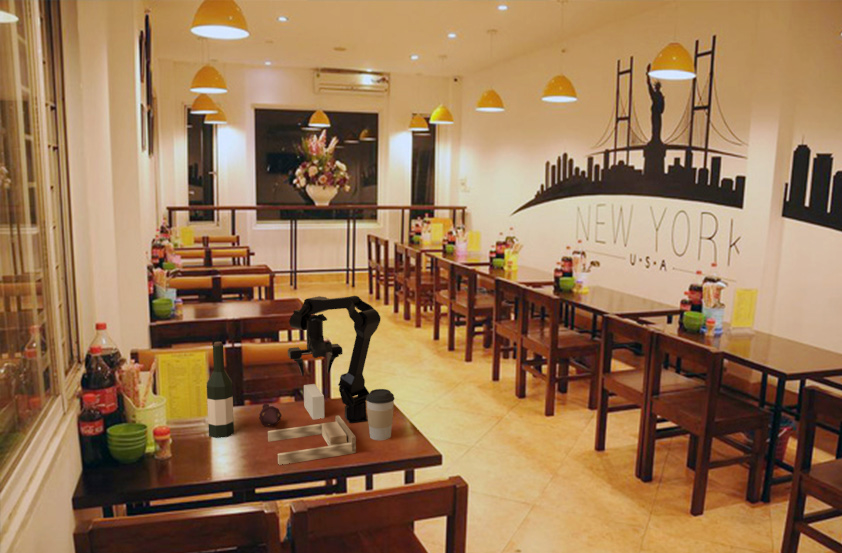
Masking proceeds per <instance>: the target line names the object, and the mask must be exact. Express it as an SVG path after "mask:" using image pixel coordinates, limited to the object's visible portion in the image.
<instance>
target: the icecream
mask: <svg viewBox="0 0 842 553" xmlns="http://www.w3.org/2000/svg"><path fill="white" fill-rule="evenodd" d="M282 416H283V415H282V413H281V412H280V409H279V408H278V407H276V406H274V405H270V404H269V403H268V402H267V403H263V404H262V409H261V411H260V413H259V421H260V423H261V425H262V426H265V427H267V428H270V427H274V426H276V425H277V424H278V423H279V422H280V421H281V418H282Z"/></svg>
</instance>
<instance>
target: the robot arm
mask: <svg viewBox="0 0 842 553" xmlns="http://www.w3.org/2000/svg"><path fill="white" fill-rule="evenodd" d="M340 309H343V310H344V309H346V310H347V312H348V316H349V318H350V319H351V320H352V321H353V328H354V331H355V339H354V343H353V348H352V351H351V352H352V353H351V356H350V361H349V366H348V371H347V372H346V373H342V374H341V375H340V377H339V383H338V384H337V385H338V391H339V394H340V398H341V402H342V404H343V405H345V406H344V418H345V419H346V421H347V422H348V423H349V424H352V423H353V424H354V423H361V422H368V417H367V400H366V398H367V395H368V394H369V393H370V391H369V390H368V389H367V386H365V385H366V384H365V383H366V380H365V378H364V374H363V373H364V369H365V365H366V364H365V363H366V360H367V356H368V352H369V348H370V343H371V340H372V336H373V334H374V333H375V332H376V331H377V330H378V327H379V325H380V323H381V315H380V313H379V312H378V310H376V309H375V308H374V307H373V306H372V305H370V304H369V303H367V302H366V301H364V300H362V299H361V298H360V297H359V296H358V295H351V296H343V297H333V298H327V297H326V296H320V295H319V296H315V297H314V296H313V297H308V298H305V299H304V302H303V304H302V306H301V308H300V309H294V310H293V313H292V314H291V316H290V318H289V321H288V323H289V326H290V328H292V329H297V330H300V331H301V330H302V331H306V335H305V336H306V348H305V349H301V348H300V347H299V346H297V347H288V349H287V357H288V358H289V359H290V360H293V362H296V363H297V366H298V368H299V371H300V374H301V376H302V377H304V376H305V374H304V373H305V370H304V366H303V365H304V364H303V362H304V361H303V360H304V359H303V358H302V356H309V355H312V357H313V358H314V359H317V358H325V357H326V373H327V374H330V371H331V369H332V366H333V363H334V361H335V359H336V358H338V357H339V356H341V355H343V347H342V346H341V345H340V344H338V343H332V342H331V341H327V342H326V341H325V340H324V324H323V323H324V322H325V321H328V317H326V316H325V315H324V314H323V313H324V312H326V311H330V310H331V311H332V310H340ZM358 310H359V312H358Z"/></svg>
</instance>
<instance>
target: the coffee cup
mask: <svg viewBox="0 0 842 553" xmlns="http://www.w3.org/2000/svg"><path fill="white" fill-rule="evenodd" d="M394 402H395V395H394V394H393V393H392V391H391V390H390V389H385V388H376V389H372V390H371V391H369V394H368V395H367V398H366V416H367V419H368V420H367V422H368V423H367V425H368V432H369V437H370V439H372V440H374V441H385V440H388V439H390V438H391V437H392V427H393V418H394V408H395V404H394Z"/></svg>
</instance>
